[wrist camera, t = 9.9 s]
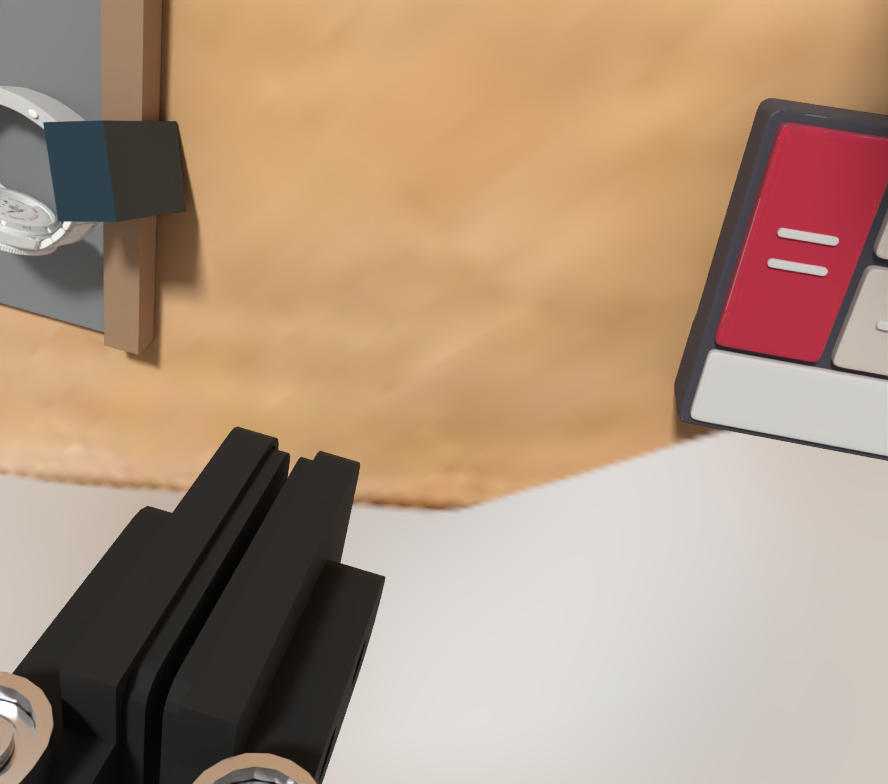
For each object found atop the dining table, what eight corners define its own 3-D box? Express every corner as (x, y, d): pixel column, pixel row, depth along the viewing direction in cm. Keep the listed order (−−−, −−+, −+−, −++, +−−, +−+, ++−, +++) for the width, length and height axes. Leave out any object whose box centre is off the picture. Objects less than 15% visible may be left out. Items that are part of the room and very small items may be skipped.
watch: (190, 249, 43) (15, 246, 46) (172, 83, 41) (-12, 91, 44) (121, 266, 38) (-71, 260, 41) (95, 76, 35) (-107, 85, 38)
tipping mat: (-144, -225, 36) (-178, -230, 34) (166, -144, 35) (145, -146, 34) (-75, 275, 49) (-97, 287, 47) (153, 340, 48) (138, 354, 47)
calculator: (1066, 154, 32) (912, 474, 39) (1018, 132, 36) (885, 428, 43) (774, 109, 33) (677, 430, 40) (757, 92, 37) (671, 388, 44)
